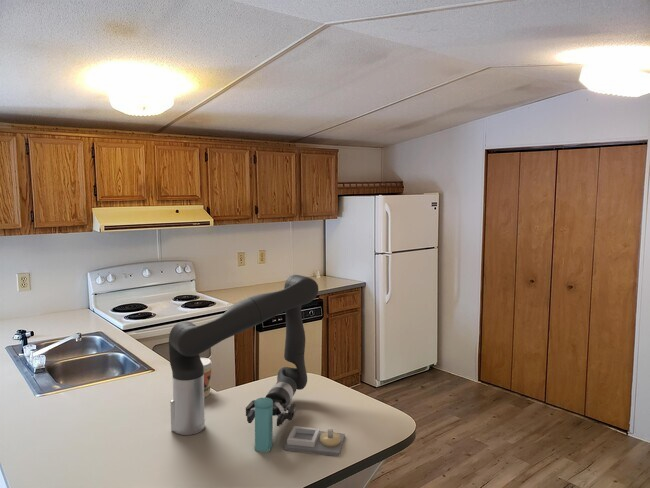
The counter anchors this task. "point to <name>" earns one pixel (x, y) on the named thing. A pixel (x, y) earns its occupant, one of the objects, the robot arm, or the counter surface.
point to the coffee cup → (207, 375)
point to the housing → (315, 441)
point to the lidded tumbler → (263, 424)
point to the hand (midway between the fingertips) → (263, 421)
